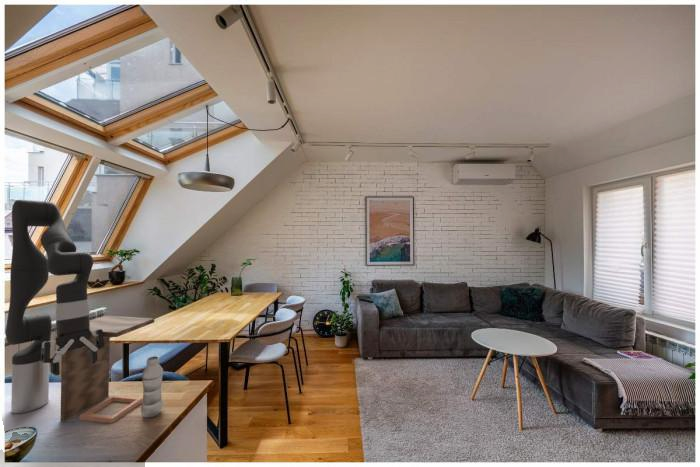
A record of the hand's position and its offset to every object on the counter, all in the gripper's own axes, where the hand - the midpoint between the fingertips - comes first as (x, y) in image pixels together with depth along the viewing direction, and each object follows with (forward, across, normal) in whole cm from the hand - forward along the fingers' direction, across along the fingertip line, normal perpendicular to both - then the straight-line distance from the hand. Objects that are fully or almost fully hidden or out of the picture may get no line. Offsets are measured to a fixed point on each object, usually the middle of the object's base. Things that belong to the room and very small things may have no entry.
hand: (75, 369), depth 90 cm
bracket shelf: (+21, -13, -12) cm, 27 cm away
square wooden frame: (+21, -13, -11) cm, 27 cm away
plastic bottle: (+23, -19, +3) cm, 30 cm away
